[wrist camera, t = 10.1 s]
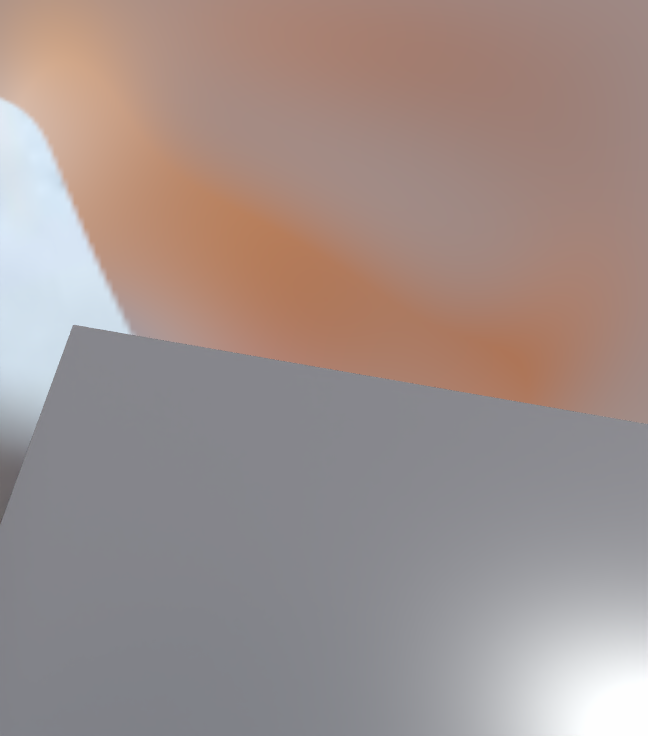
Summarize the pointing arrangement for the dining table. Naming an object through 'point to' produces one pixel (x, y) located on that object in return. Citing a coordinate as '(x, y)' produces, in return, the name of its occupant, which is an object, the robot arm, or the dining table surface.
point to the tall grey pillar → (317, 556)
